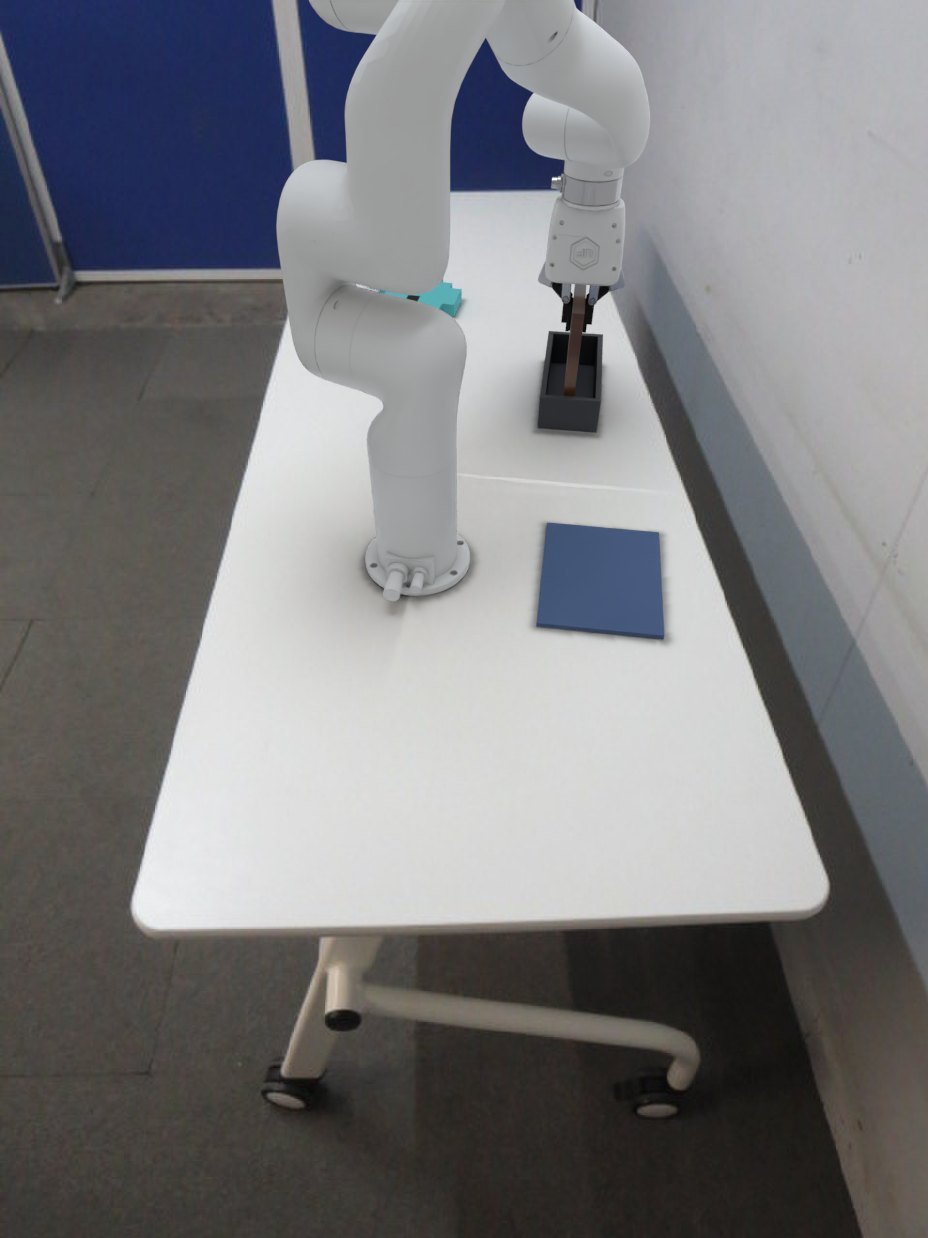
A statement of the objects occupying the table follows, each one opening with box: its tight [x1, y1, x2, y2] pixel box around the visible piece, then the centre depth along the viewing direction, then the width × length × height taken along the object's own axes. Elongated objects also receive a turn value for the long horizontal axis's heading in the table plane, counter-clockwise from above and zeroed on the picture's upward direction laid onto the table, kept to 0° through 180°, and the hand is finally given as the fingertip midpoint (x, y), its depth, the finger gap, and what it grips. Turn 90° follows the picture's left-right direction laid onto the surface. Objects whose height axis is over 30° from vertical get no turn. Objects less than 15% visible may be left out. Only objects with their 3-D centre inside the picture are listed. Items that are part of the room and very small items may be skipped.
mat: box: [535, 522, 665, 640], centre depth 95 cm, size 18×14×1 cm
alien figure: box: [379, 278, 463, 318], centre depth 146 cm, size 20×2×20 cm
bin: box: [537, 330, 604, 434], centre depth 122 cm, size 21×9×6 cm, turn 172°
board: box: [563, 284, 587, 396], centre depth 116 cm, size 16×2×12 cm, turn 172°
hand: (576, 326), depth 115 cm, fingers closed on board, 1 cm apart
